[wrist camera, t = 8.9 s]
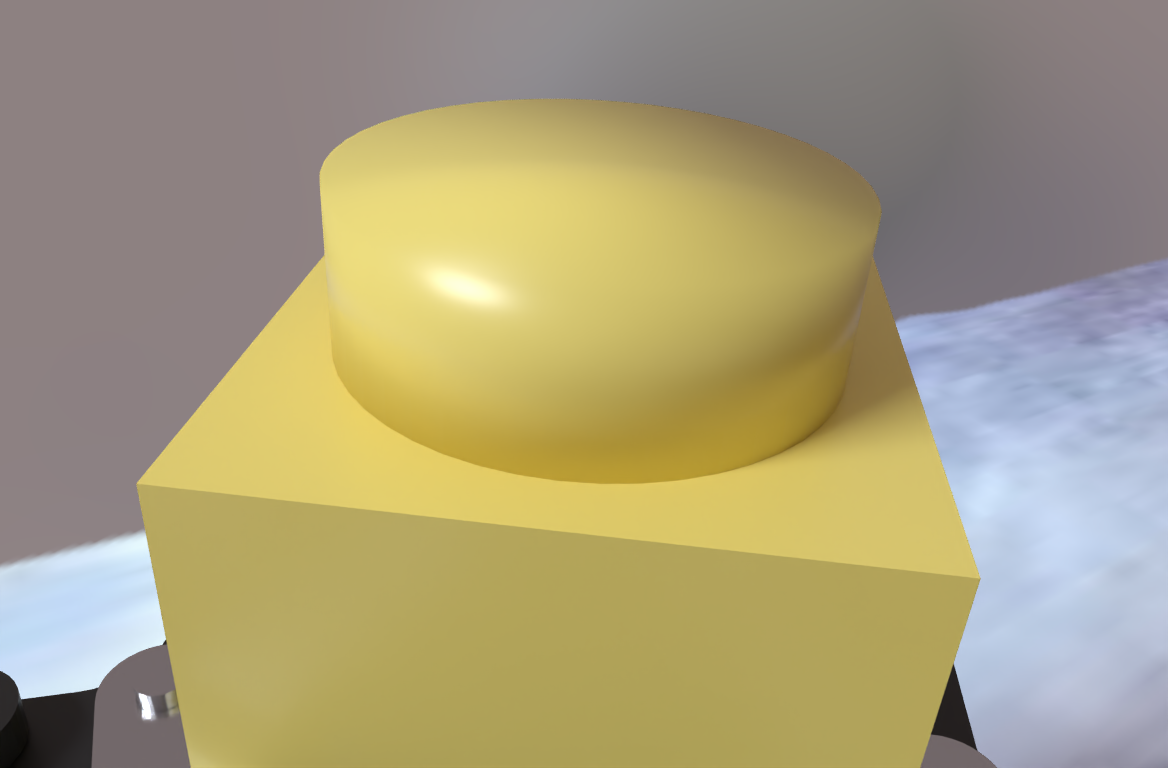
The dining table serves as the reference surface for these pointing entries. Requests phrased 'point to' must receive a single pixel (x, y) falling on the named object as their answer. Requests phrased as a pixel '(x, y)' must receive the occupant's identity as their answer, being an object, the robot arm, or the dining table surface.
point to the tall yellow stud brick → (567, 466)
